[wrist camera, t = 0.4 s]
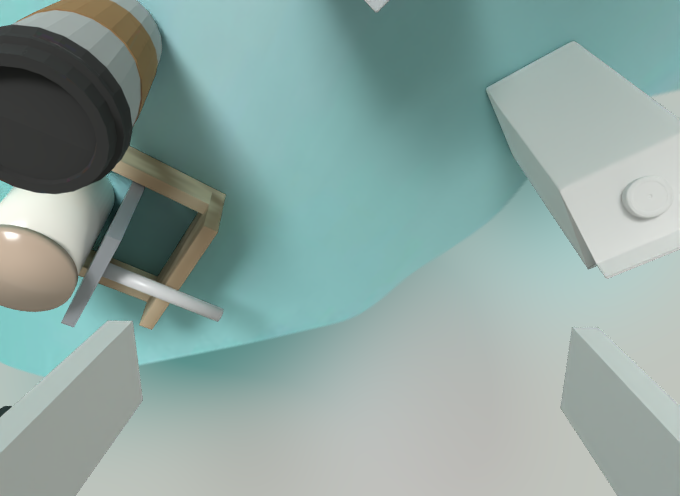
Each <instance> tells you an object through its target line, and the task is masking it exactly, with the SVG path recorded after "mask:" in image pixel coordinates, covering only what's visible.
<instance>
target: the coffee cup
mask: <svg viewBox="0 0 680 496" xmlns="http://www.w3.org/2000/svg"><path fill="white" fill-rule="evenodd" d="M161 52H162V42H161V35H160V32H159V30H158V27H157V24H156V23H155V21H154V19H153V18H152V16H151V15H150V13H149V12H148V11H147V10H146V9H145V8H144V7H143V6H142V5H141V4H140V3H139V2H138V1H137V0H61V1H59V2H56V3H54V4H52V5H50V6H47V7H45V8H43V9H41V10H38V11H36V12H34V13H32V14H30V15H28V16H26V17H24V18H22V19H21V20H19V21H17V22H16V23H14V24H12V25H8V26H2V27H0V180H1V181H3V182H6V183H8V184H10V185H12V186H14V187H16V188H20V189H24V190H28V191H31V192H35V193H46V194H61V193H67V192H74V191H76V190H78V189H80V188H83V187H85V186H88V185H90V184H92V183H95V182H97V181H99V180H101V179H102V178H103V177H105V176H106V175H107V174H108V173H109V172H110V171H111V170H113V169H114V167H115V166H116V164H117V163H118V162H119V161H121V160H122V158H123V156H124V154H125V153H126V151H127V149H128V147H129V145H130V140H131V134H132V128H133V126H134V124H135V122H136V120H137V119H138V117H139V115H140V112H141V110H142V107H143V105H144V102H145V100H146V97H147V95H148V92H149V90H150V87H151V85H152V82H153V80H154V77H155V75H156V70H157V66H158V64H159V61H160V57H161Z"/></svg>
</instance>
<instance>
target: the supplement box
mask: <svg viewBox="0 0 680 496" xmlns="http://www.w3.org/2000/svg"><path fill="white" fill-rule="evenodd" d="M364 1H365V2H366V3H367V4H368V5H369V6H370V7H371V8H372V9H373V10H374V11H375V12H378V11H379V10H380V9H381V8H382V7H383V6H385V5H386V4H387V3H388V2H389V1H390V0H364Z"/></svg>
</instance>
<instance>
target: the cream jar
mask: <svg viewBox="0 0 680 496" xmlns="http://www.w3.org/2000/svg"><path fill="white" fill-rule="evenodd" d="M114 201H115V194H114V190H113V187H112V185H111V183H110V181H109V180H108V178H107V177H106V176H105V177H103V178H102V179H101V180H99V181H97V182H95V183H92V184H90V185H88V186H85V187H83V188H80V189H78V190H76V191H74V192H67V193H61V194H46V193H35V192H31V191H28V190H24V189H20V188H16V187H13V188H12V189H11V191H10V192H9V193H8V194H7V195H6V197H5V198H4V199H3V200H2V201H1V203H0V305H1V306H4V307H7V308H11V309H15V310H20V311H29V312H38V311H46V310H51V309H54V308H57V307H59V306H61V305H62V304H64V303H65V302H66V301H67V300H68V299H69V298H70V297H71V295H72V293H73V291H74V289H75V287H76V285H77V282H78V275H79V273H80V271H81V269H82V267H83V265H84V263H85V261H86V259H87V257H88V255H89V253H90V251H91V249H92V247H93V245H94V243H95V241H96V239H97V237H98V236H99V234H100V232H101V230H102V228H103V226H104V224H105V222H106V220H107V218H108V216H109V214H110V212H111V210H112V208H113V206H114Z"/></svg>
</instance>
